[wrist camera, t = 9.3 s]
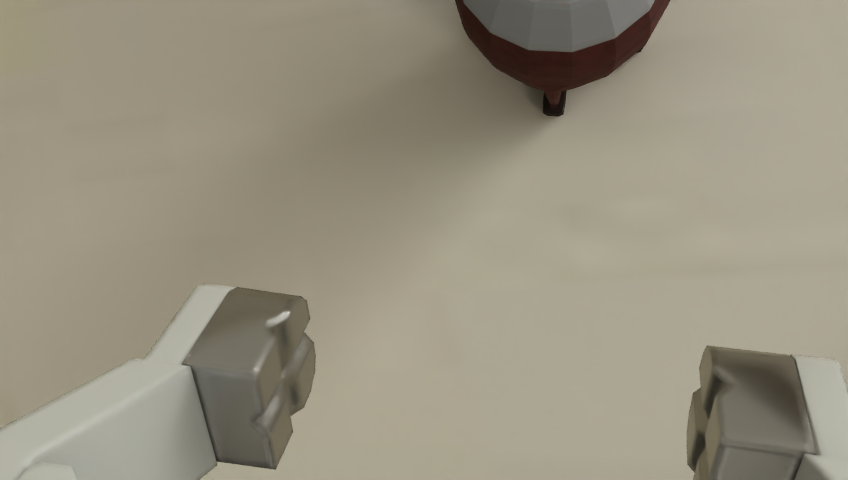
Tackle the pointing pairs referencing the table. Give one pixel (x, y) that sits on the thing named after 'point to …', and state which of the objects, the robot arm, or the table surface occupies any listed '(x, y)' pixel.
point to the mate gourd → (559, 39)
